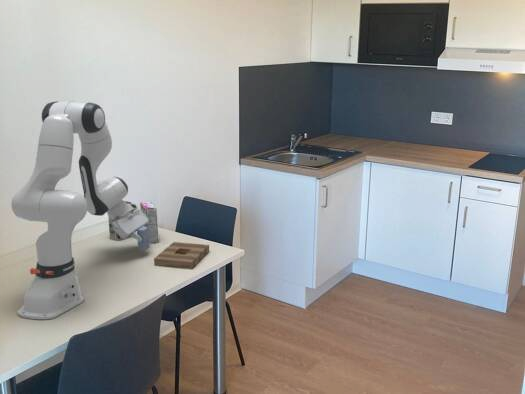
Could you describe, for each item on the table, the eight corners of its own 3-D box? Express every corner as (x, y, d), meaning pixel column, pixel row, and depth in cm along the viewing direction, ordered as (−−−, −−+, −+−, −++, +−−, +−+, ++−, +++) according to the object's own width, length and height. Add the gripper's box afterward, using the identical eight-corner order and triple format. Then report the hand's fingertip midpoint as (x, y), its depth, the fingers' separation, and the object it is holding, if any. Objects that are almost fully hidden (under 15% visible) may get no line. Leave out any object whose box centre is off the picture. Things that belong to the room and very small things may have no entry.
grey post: (144, 251, 231) (143, 230, 229) (138, 250, 232) (137, 229, 230) (149, 247, 235) (148, 227, 233) (143, 247, 236) (141, 226, 234)
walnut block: (192, 269, 219) (191, 262, 218) (154, 265, 223) (154, 258, 222) (209, 251, 238) (209, 244, 237) (174, 248, 242) (173, 241, 241)
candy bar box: (141, 236, 257) (139, 202, 252) (152, 235, 259) (150, 201, 254) (147, 244, 247) (145, 208, 243) (158, 242, 249) (157, 207, 245)
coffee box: (118, 241, 251) (116, 206, 247) (109, 238, 255) (106, 204, 250) (134, 236, 258) (132, 202, 254) (125, 233, 262) (122, 200, 257)
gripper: (113, 216, 221) (138, 241, 221) (137, 203, 240) (159, 226, 241) (104, 226, 223) (128, 251, 224) (128, 212, 243) (150, 235, 243)
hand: (144, 238), depth 232 cm, fingers closed on grey post, 4 cm apart
